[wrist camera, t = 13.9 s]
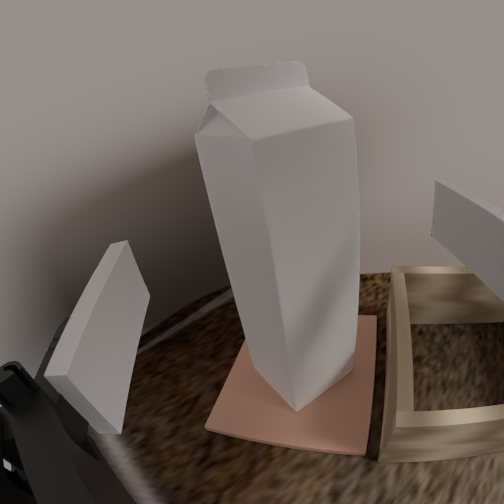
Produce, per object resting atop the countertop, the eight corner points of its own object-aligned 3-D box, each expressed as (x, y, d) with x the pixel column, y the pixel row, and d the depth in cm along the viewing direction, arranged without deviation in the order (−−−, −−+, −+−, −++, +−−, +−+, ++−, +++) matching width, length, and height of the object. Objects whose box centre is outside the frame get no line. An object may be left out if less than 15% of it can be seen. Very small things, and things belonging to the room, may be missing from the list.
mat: (376, 320, 27) (376, 315, 27) (364, 455, 16) (365, 452, 16) (259, 313, 32) (258, 309, 31) (206, 429, 20) (204, 426, 20)
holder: (512, 314, 22) (529, 267, 19) (546, 440, 10) (587, 396, 7) (385, 316, 27) (391, 266, 24) (377, 462, 15) (395, 426, 13)
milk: (353, 370, 22) (349, 55, 11) (295, 414, 20) (237, 57, 9) (306, 333, 27) (273, 67, 16) (251, 367, 25) (180, 80, 14)
